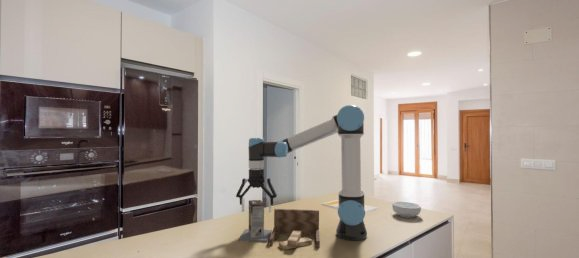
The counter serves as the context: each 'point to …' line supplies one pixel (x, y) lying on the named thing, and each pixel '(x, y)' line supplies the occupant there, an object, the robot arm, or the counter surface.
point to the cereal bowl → (406, 209)
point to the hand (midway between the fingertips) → (256, 211)
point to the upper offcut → (294, 238)
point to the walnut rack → (295, 223)
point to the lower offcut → (301, 242)
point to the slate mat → (246, 237)
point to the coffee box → (256, 218)
